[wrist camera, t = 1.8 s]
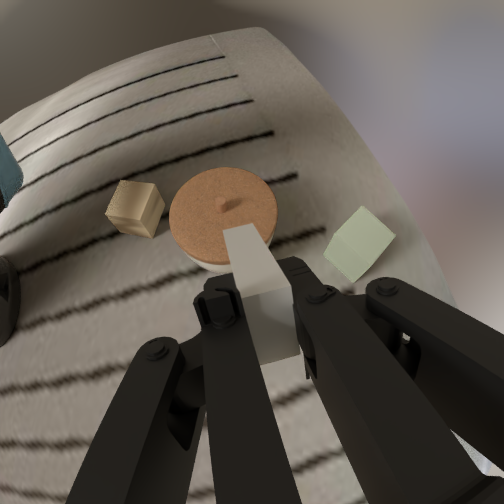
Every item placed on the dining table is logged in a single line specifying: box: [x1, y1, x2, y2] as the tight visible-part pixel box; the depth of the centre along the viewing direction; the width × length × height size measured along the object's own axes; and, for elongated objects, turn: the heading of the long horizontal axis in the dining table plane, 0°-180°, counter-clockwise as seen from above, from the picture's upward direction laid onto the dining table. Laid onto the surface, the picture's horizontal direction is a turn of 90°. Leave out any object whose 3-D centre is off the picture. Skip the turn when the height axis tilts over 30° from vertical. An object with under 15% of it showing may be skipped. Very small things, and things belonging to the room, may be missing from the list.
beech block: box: [105, 180, 165, 239], centre depth 35 cm, size 5×5×5 cm
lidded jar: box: [169, 167, 278, 273], centre depth 31 cm, size 11×11×9 cm
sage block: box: [323, 206, 396, 283], centre depth 32 cm, size 5×5×6 cm
